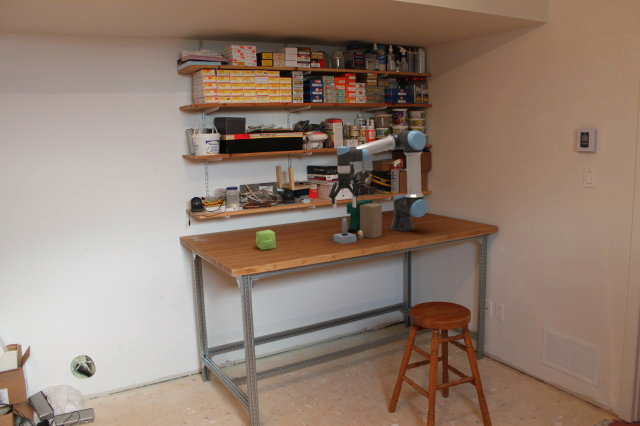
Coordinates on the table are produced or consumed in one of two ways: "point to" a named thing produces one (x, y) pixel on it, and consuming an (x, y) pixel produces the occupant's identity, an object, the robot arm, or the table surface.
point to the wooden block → (371, 220)
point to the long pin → (344, 226)
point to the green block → (265, 239)
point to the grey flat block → (344, 238)
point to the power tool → (355, 215)
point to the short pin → (360, 234)
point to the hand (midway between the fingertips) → (344, 208)
